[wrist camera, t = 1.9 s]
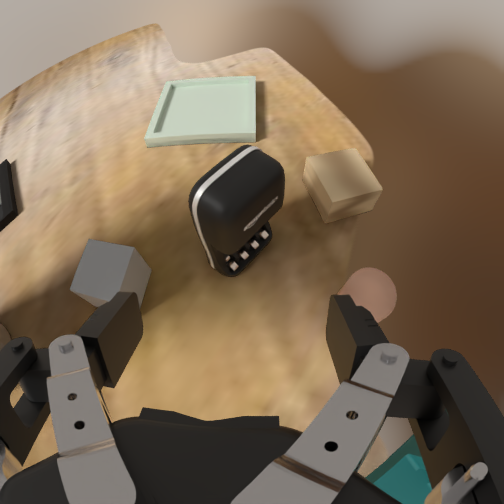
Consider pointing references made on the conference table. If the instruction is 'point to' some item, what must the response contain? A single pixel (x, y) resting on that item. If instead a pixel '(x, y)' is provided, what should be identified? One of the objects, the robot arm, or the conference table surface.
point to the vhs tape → (6, 196)
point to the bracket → (403, 475)
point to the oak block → (341, 184)
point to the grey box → (109, 272)
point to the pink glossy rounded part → (371, 291)
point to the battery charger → (237, 207)
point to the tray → (204, 112)
